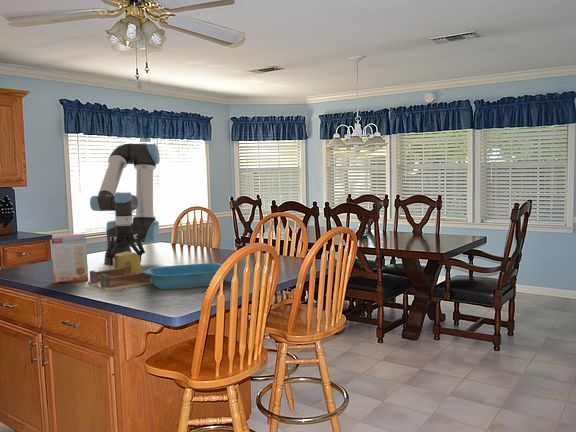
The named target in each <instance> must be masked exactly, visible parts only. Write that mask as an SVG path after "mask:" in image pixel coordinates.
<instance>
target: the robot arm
mask: <svg viewBox="0 0 576 432" xmlns="http://www.w3.org/2000/svg"><path fill="white" fill-rule="evenodd" d="M107 160H108V161H107V162H108V166H107V169H106V171H105V174H104V177H103V180H102V182H101V185H100V188H99V191H98V192H97V193H98V194H97V195H92V196H91V197H90V200H89V206H90V209H91V210H92V211H94V212H112V211H113V212H115V213H114V214H115V219H114V220H109V221H108V222H106V229H105V231H106V245H107V249H106V251H105V254H104V259H103V260H104V261H103V263H104V264H105V265H109V267H110V266H111V269H115V259H113V257H114V256H115V254H118V253H123V252H133V251H134V253H136V254H137V255H138V257H140V259H141V260H142V255H144V254H145V253H146V251H145V248H144V246H143V244H145V243H146V244H148V243H154V242H156V240H157V239H158V236H159V232H160V223H159V221H158V220H157V219H156V216H155V215H154V214H153V213H154V212H153V211H154V210H153V209H154V205H153V204H154V201H153V200H154V170H155V169H156V168H157V165H159V163H160V161H161V160H160V152H159V148H158V145H157V144H156V143H155V142H151V141H149V142H148V141H141V142H140V141H139V142H137V141H136V142H130V141H129V142H124V143H121V144H120V145H118V146H117V147H115V149H113V151H112V152H111V153H110V154H109V156H108V159H107ZM128 165H133V168H134V169H135V170H136V184H135V186H136V187H135V188H136V189H135V191H136V193H135V194H136V195H134V194H132V192H131V191H117V189H118V186H119V184H120V183H119V182H120V181H121V176H122V174H123V171H124V169H126V168H127V166H128ZM133 211H135V214H134V216H133ZM136 245H137V246H136ZM131 248H132V249H131Z"/></svg>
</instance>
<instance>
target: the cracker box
mask: <svg viewBox="0 0 576 432" xmlns="http://www.w3.org/2000/svg"><path fill="white" fill-rule="evenodd" d="M86 235H87V234H86V233H73V234H72V233H71V234H70V233H69V234H57V235H54V234H53V235H51V250H52V251H51V252H52V254H51V255H52V266H53V267H52V268H53V270H52V271H53V281H54V282H53V283H54V284H60V283H59V282H66V283H74V282H77V283H78V282H88V281H89V269H88V267H89V266H88V251H87V250H88V249H87V236H86Z"/></svg>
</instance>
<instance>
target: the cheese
mask: <svg viewBox="0 0 576 432" xmlns="http://www.w3.org/2000/svg"><path fill="white" fill-rule="evenodd" d="M113 259H115V269H118V268H125V267H129V266H131V274H135V273H142V272H143V267H142V265H141V263H142V258H141V259H140V257H138V255H137V253H136V252H133V251H132V252H123V253H118V254H115V256H114V257H113ZM109 270H111V266H110V265H109Z"/></svg>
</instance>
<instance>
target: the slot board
mask: <svg viewBox="0 0 576 432" xmlns="http://www.w3.org/2000/svg"><path fill="white" fill-rule="evenodd" d="M87 284H88V285H90V286H93V287H96V288H98V289H101V290H103V291H105V292H110V291H111V292H112V291H117V290H122V289H123V290H124V289H127V288H128V289H129V288H134V287H139V286H144V285H145V286H146V285H152V284H154V283H153V282H152V280H151V278H150V275H147V274H145V271H144V272H143V271H142V273H135V274H131V266H129V267H125V268H118V269H111V270H110V269H106V270H98V271H96V270H89V280H88V281H87Z"/></svg>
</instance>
